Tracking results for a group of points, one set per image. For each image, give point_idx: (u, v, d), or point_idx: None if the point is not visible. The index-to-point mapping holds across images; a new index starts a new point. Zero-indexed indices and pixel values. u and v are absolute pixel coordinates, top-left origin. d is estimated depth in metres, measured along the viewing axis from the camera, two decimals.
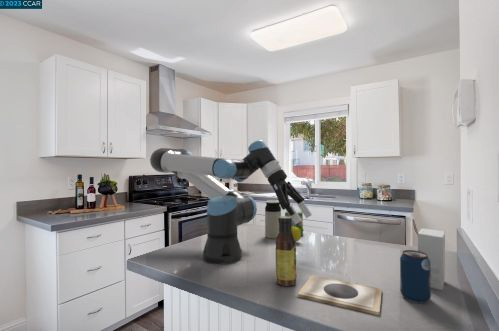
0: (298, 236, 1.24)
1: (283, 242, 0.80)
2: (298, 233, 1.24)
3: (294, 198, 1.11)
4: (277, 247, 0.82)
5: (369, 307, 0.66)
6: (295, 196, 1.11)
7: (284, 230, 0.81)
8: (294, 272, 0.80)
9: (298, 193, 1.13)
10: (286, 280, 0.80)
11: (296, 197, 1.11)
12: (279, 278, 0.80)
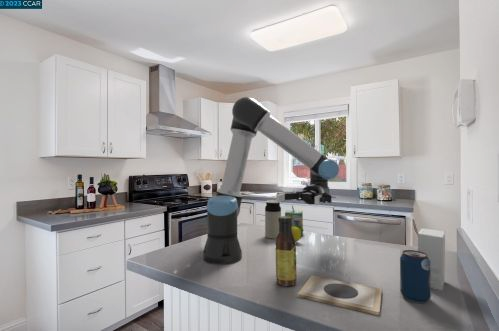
0: (298, 236, 1.24)
1: (283, 242, 0.80)
2: (298, 233, 1.24)
3: (290, 195, 1.02)
4: (277, 247, 0.82)
5: (369, 307, 0.66)
6: (291, 197, 1.02)
7: (284, 230, 0.81)
8: (294, 272, 0.80)
9: None
10: (286, 280, 0.80)
11: (289, 197, 1.02)
12: (279, 278, 0.80)
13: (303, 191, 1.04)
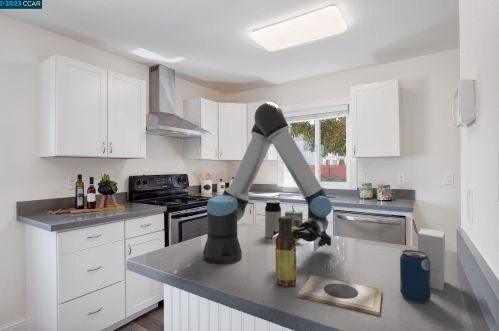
0: None
1: (283, 242, 0.80)
2: None
3: None
4: (277, 247, 0.82)
5: (369, 307, 0.66)
6: None
7: (284, 230, 0.81)
8: (294, 272, 0.80)
9: None
10: (286, 280, 0.80)
11: None
12: (279, 278, 0.80)
13: (301, 229, 0.99)
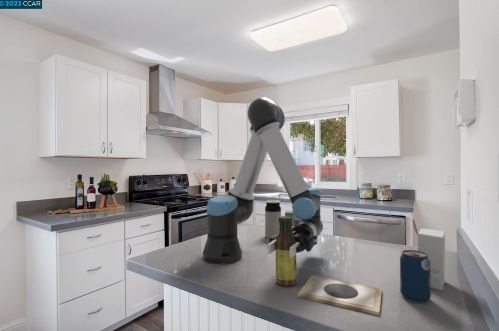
0: None
1: (283, 242, 0.80)
2: None
3: None
4: (277, 247, 0.82)
5: (369, 307, 0.66)
6: None
7: (284, 230, 0.81)
8: (294, 272, 0.80)
9: None
10: (286, 280, 0.80)
11: None
12: (279, 278, 0.80)
13: (293, 233, 0.92)
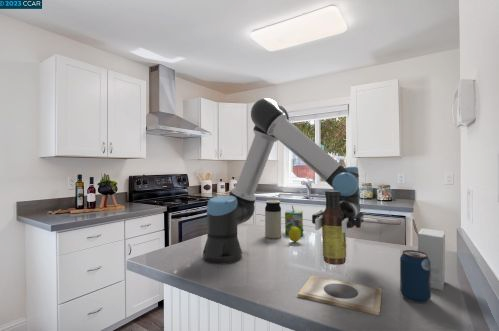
0: (298, 236, 1.24)
1: (332, 217, 0.74)
2: (298, 233, 1.24)
3: None
4: (325, 223, 0.75)
5: (369, 307, 0.66)
6: None
7: (332, 204, 0.75)
8: (344, 250, 0.74)
9: None
10: (336, 258, 0.73)
11: None
12: (328, 256, 0.74)
13: None
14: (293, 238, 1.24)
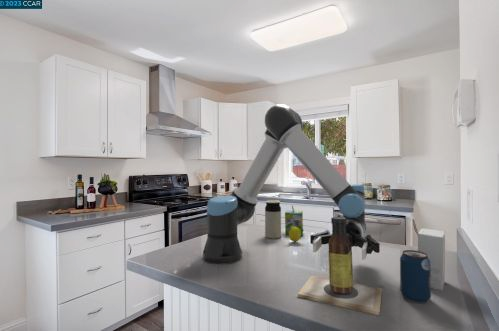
0: (298, 236, 1.24)
1: (339, 245, 0.73)
2: (298, 233, 1.24)
3: (326, 238, 0.82)
4: (331, 251, 0.74)
5: (369, 307, 0.66)
6: (328, 241, 0.83)
7: (339, 231, 0.74)
8: (351, 278, 0.73)
9: None
10: (343, 287, 0.72)
11: (326, 241, 0.82)
12: (335, 285, 0.73)
13: None
14: (293, 238, 1.24)
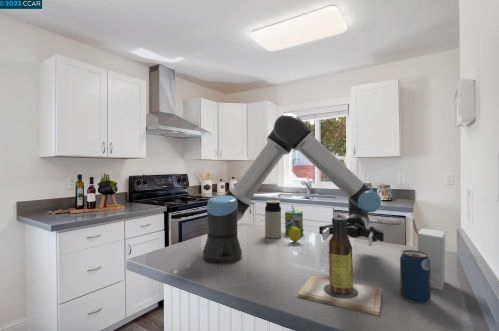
0: (298, 236, 1.24)
1: (339, 246, 0.73)
2: (298, 233, 1.24)
3: None
4: (332, 251, 0.74)
5: (369, 307, 0.66)
6: None
7: (339, 232, 0.74)
8: (351, 279, 0.73)
9: None
10: (343, 288, 0.72)
11: None
12: (335, 286, 0.73)
13: (347, 224, 0.96)
14: (293, 238, 1.24)
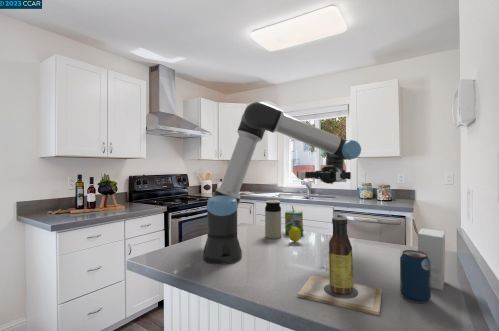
0: (298, 236, 1.24)
1: (339, 246, 0.73)
2: (298, 233, 1.24)
3: (310, 173, 1.08)
4: (332, 251, 0.74)
5: (369, 307, 0.66)
6: (311, 176, 1.08)
7: (339, 232, 0.74)
8: (351, 279, 0.73)
9: None
10: (343, 288, 0.72)
11: (309, 176, 1.07)
12: (335, 286, 0.73)
13: (322, 170, 1.10)
14: (293, 238, 1.24)
